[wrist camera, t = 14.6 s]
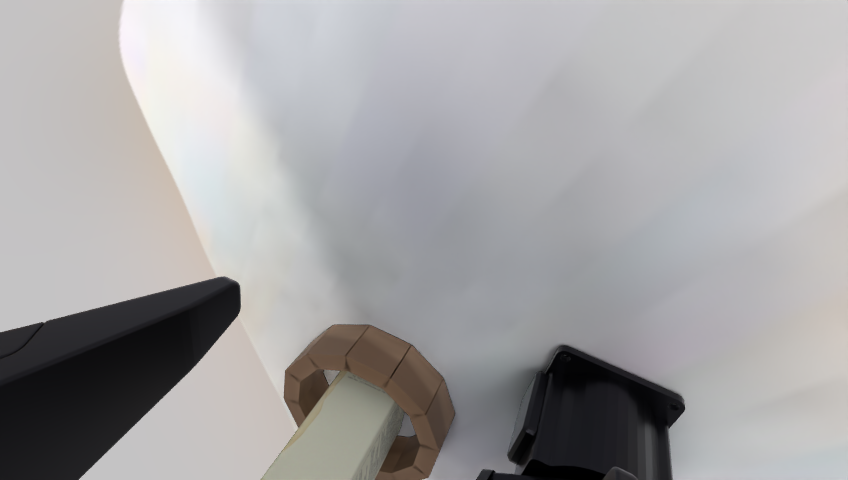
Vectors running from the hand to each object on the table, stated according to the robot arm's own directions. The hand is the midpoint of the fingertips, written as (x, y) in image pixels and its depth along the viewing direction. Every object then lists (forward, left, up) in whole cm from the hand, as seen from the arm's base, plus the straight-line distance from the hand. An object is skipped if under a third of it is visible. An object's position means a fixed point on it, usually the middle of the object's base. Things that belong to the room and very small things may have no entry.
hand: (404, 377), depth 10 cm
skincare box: (+4, +19, -13) cm, 23 cm away
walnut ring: (+4, +19, -13) cm, 23 cm away
